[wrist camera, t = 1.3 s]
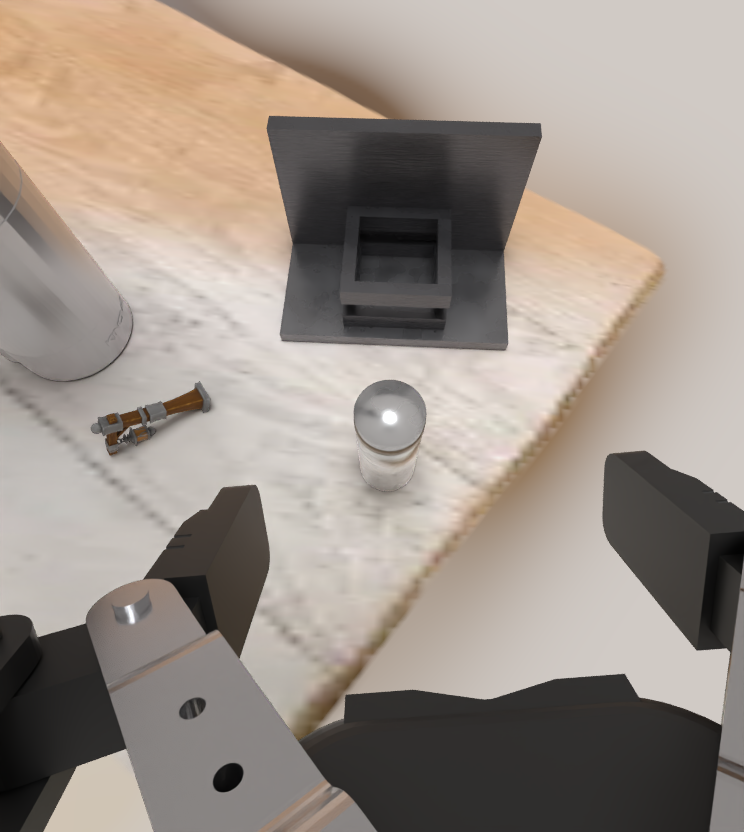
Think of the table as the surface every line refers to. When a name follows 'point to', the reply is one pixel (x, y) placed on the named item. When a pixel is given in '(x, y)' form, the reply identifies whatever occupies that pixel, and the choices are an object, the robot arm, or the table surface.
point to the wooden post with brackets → (147, 418)
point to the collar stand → (399, 228)
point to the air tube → (388, 433)
